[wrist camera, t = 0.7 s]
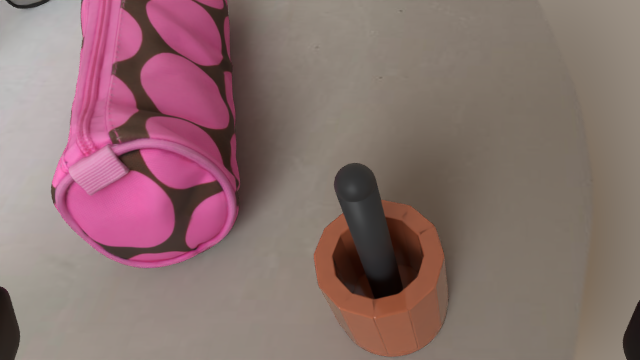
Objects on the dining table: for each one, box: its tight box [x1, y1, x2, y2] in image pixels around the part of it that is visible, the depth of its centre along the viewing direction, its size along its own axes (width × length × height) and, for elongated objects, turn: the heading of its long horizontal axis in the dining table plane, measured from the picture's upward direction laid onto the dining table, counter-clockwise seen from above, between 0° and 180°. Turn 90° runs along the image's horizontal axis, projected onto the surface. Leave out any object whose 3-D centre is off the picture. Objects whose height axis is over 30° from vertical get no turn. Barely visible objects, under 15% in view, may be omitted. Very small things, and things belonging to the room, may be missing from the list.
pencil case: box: [51, 0, 240, 268], centre depth 33 cm, size 21×10×10 cm, turn 11°
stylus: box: [334, 163, 403, 299], centre depth 22 cm, size 1×1×10 cm
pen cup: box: [314, 200, 449, 357], centre depth 25 cm, size 5×5×5 cm
